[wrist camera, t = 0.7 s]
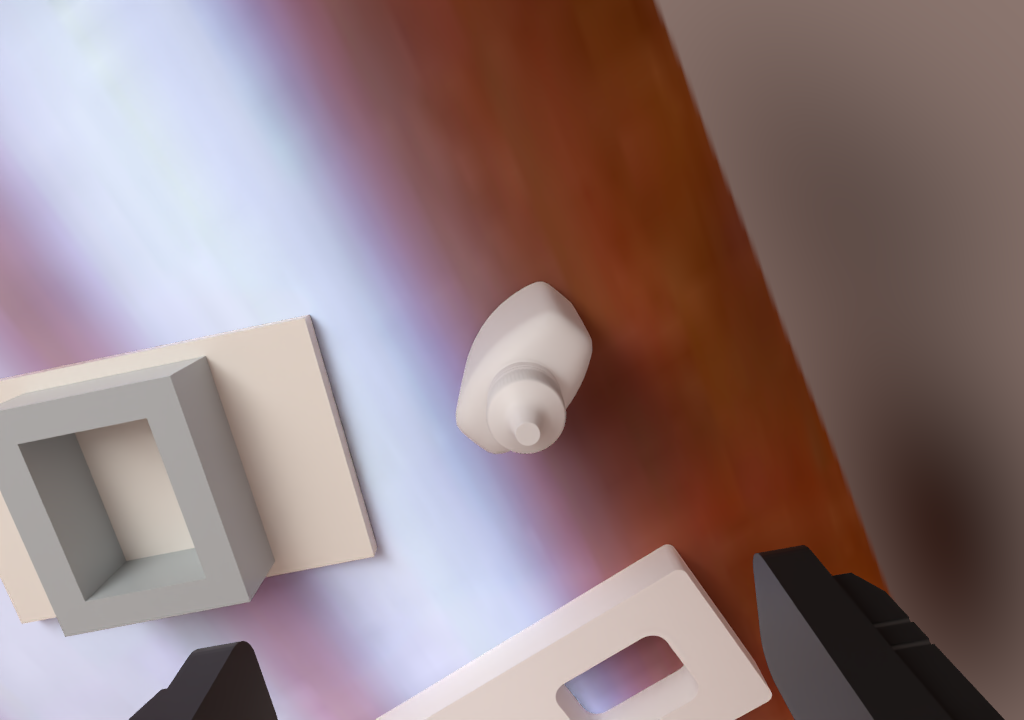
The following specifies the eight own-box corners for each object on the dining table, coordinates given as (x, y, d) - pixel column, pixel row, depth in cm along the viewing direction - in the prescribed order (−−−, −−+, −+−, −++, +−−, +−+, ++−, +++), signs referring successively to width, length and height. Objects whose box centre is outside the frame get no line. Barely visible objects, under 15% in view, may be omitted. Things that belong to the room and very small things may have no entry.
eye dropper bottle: (593, 359, 30) (648, 466, 18) (480, 402, 31) (465, 533, 19) (559, 270, 29) (596, 326, 17) (443, 316, 29) (403, 400, 18)
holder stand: (-68, 392, 30) (-152, 422, 26) (309, 314, 29) (279, 333, 26) (33, 613, 33) (-30, 669, 29) (377, 547, 32) (360, 596, 29)
